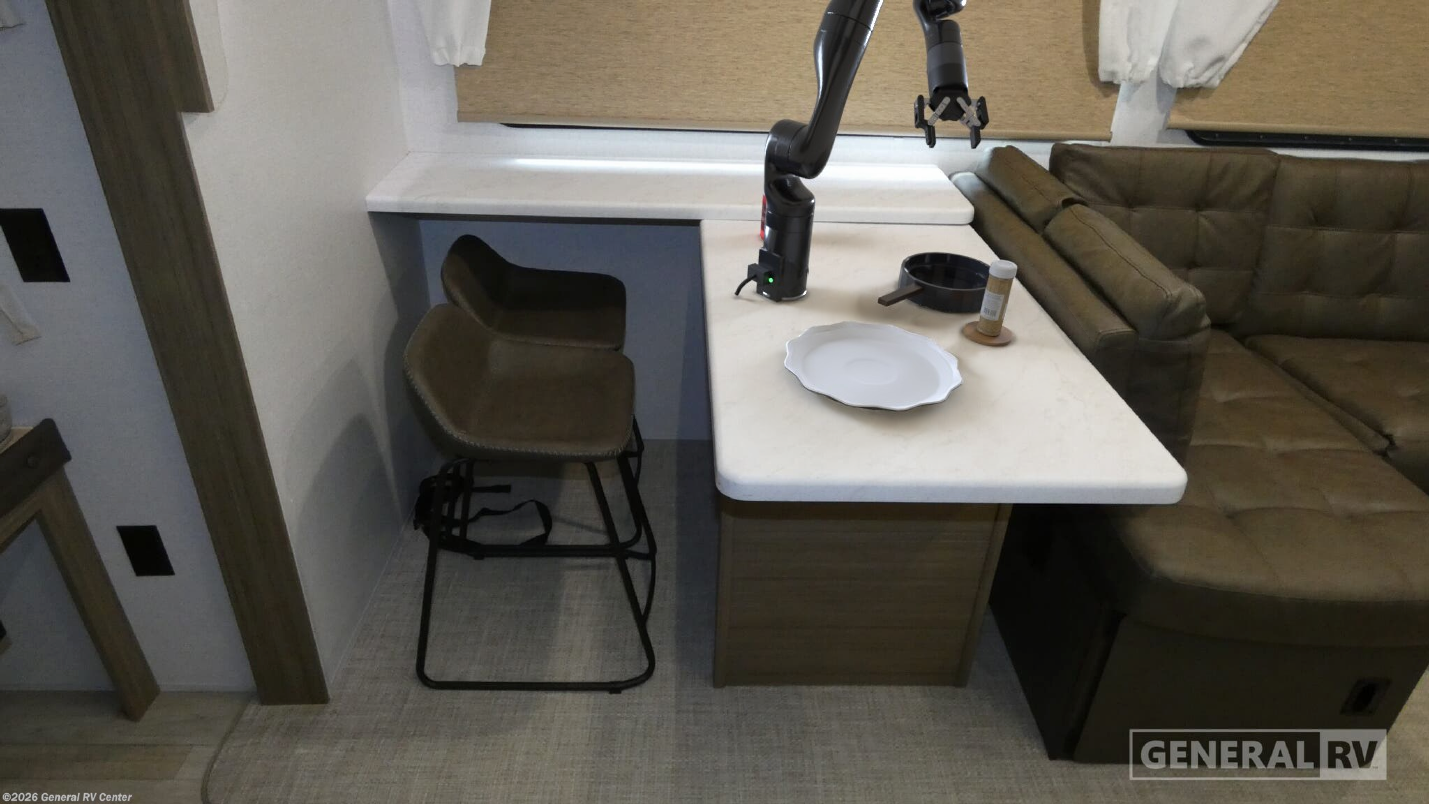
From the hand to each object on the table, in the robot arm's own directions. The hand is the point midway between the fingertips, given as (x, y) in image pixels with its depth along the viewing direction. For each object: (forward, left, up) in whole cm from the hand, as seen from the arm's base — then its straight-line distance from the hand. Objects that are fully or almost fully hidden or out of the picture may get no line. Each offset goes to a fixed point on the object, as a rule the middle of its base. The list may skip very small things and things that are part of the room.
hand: (954, 146), depth 163 cm
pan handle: (-20, -7, -24) cm, 32 cm away
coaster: (-14, -23, -27) cm, 38 cm away
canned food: (-12, +35, -27) cm, 46 cm away
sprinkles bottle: (-13, -23, -27) cm, 38 cm away
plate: (-43, -19, -27) cm, 54 cm away
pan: (-5, -7, -27) cm, 29 cm away
